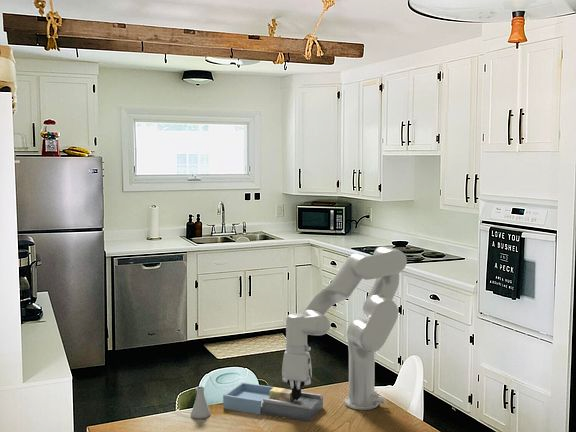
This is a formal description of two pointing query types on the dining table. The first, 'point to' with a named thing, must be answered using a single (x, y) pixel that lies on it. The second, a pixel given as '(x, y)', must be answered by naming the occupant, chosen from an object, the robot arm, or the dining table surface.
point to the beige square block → (286, 395)
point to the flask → (200, 405)
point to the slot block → (294, 407)
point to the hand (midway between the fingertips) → (296, 398)
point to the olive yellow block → (275, 393)
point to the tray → (246, 398)
